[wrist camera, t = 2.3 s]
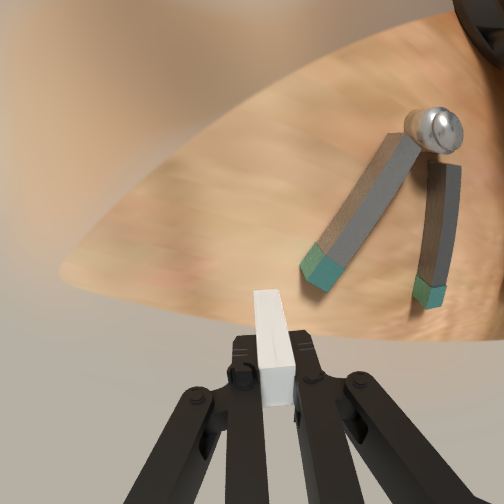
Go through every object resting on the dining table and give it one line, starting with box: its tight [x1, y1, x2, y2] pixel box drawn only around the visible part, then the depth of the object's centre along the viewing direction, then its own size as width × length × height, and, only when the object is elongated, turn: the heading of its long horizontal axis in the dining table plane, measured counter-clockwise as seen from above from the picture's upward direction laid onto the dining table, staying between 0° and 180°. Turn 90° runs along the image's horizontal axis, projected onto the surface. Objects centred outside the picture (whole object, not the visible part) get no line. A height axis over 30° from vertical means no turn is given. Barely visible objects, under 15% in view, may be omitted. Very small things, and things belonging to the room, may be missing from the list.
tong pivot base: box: [404, 107, 461, 310], centre depth 26 cm, size 24×6×4 cm, turn 4°
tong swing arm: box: [300, 111, 463, 292], centre depth 24 cm, size 23×6×5 cm, turn 149°
